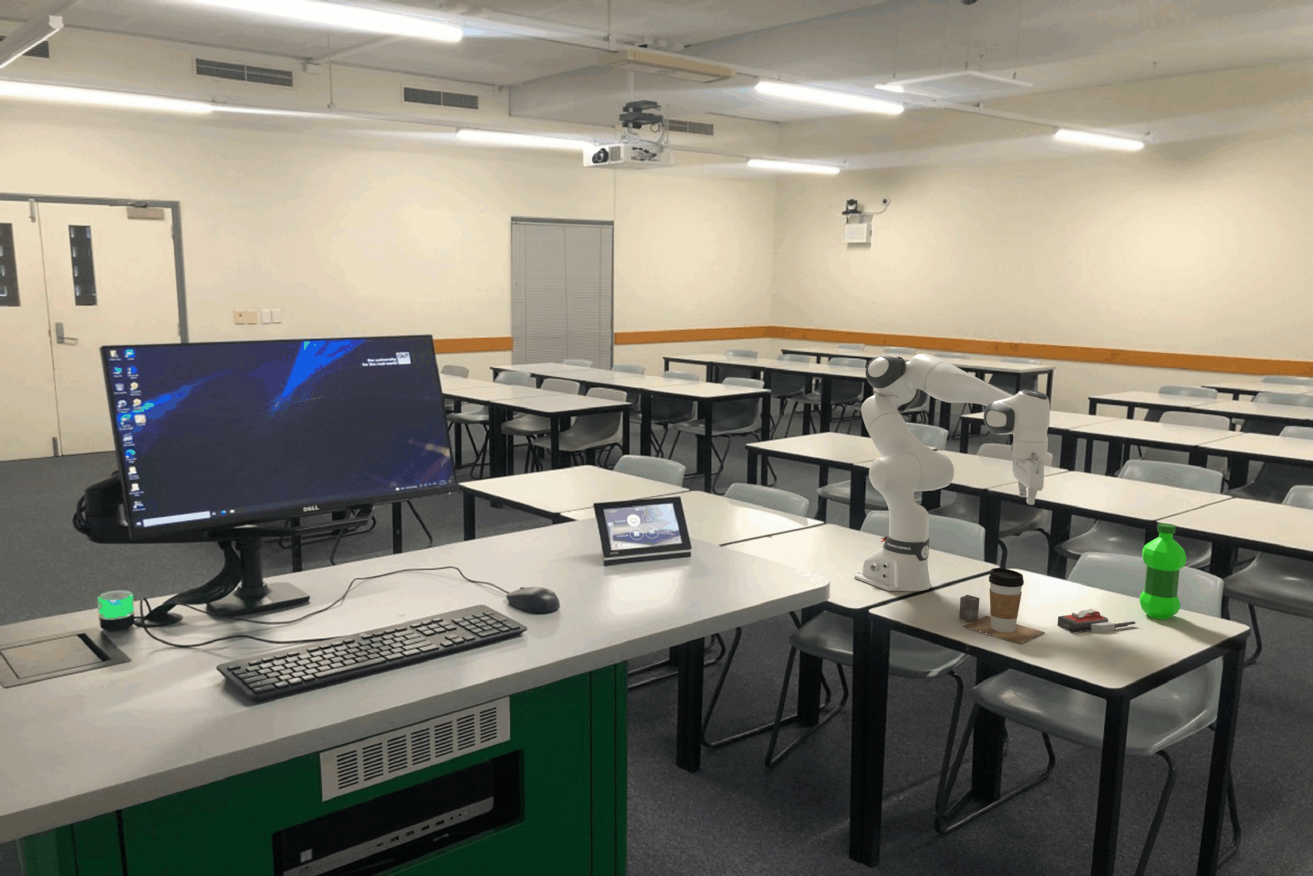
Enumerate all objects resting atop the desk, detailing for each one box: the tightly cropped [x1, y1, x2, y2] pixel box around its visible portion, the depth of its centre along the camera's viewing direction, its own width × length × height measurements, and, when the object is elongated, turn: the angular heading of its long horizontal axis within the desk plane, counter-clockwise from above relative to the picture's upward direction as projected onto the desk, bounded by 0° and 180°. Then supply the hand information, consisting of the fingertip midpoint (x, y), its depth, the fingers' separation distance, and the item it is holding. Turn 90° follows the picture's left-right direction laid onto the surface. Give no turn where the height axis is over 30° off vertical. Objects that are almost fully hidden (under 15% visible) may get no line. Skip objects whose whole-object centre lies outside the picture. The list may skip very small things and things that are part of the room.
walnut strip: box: [958, 594, 1045, 644], centre depth 246 cm, size 20×12×6 cm, turn 42°
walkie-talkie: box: [1057, 608, 1137, 633], centre depth 249 cm, size 9×4×20 cm
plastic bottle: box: [1138, 522, 1187, 620], centre depth 255 cm, size 10×10×25 cm
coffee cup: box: [988, 567, 1025, 633], centre depth 244 cm, size 8×8×15 cm
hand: (1026, 500), depth 263 cm, fingers open, 8 cm apart
